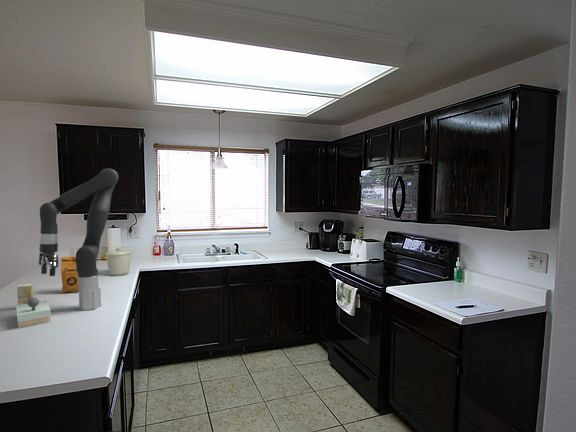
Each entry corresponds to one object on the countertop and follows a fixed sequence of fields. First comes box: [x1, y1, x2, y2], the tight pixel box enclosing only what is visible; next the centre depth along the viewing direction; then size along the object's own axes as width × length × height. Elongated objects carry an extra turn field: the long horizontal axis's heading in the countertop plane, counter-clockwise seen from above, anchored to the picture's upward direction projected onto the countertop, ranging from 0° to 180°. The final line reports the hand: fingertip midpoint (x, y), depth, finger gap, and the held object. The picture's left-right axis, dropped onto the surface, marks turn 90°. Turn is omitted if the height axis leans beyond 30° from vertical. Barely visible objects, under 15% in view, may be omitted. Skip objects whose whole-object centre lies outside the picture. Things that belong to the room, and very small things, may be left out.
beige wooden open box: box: [17, 316, 51, 328], centre depth 167 cm, size 18×12×5 cm, turn 39°
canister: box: [105, 246, 133, 277], centre depth 261 cm, size 18×18×21 cm
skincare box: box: [16, 283, 35, 305], centre depth 184 cm, size 6×4×12 cm
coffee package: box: [60, 256, 79, 294], centre depth 215 cm, size 10×12×22 cm
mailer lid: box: [15, 297, 52, 323], centre depth 166 cm, size 19×12×9 cm, turn 39°
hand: (48, 274), depth 173 cm, fingers open, 8 cm apart
